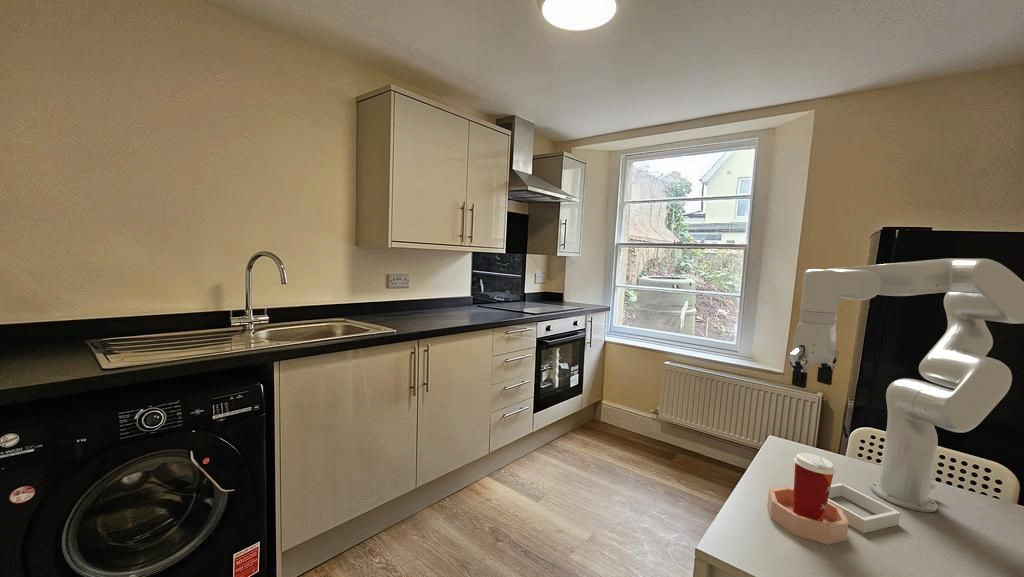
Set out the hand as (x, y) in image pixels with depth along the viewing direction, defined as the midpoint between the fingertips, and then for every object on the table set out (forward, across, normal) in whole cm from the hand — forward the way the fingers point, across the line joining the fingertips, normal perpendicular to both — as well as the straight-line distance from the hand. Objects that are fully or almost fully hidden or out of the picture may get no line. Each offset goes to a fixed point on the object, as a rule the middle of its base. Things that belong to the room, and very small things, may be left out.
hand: (811, 385), depth 102 cm
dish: (+29, +11, +8) cm, 32 cm away
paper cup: (+28, +10, +8) cm, 31 cm away
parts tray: (+29, -5, +9) cm, 31 cm away
